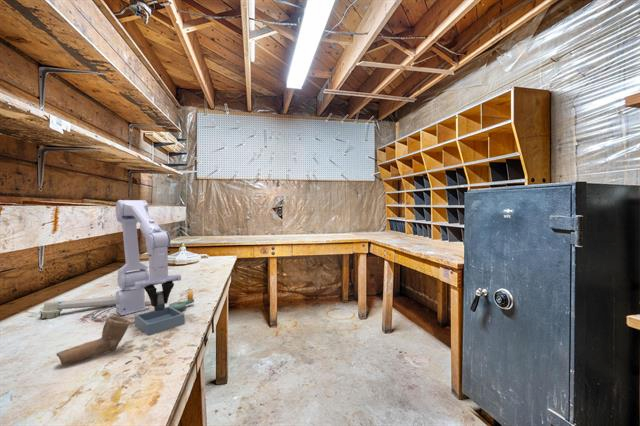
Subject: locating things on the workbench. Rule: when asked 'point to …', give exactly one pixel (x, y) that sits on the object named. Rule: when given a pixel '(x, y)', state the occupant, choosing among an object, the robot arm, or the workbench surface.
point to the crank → (183, 304)
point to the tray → (159, 320)
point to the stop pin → (160, 301)
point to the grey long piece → (74, 305)
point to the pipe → (98, 342)
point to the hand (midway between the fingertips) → (159, 304)
